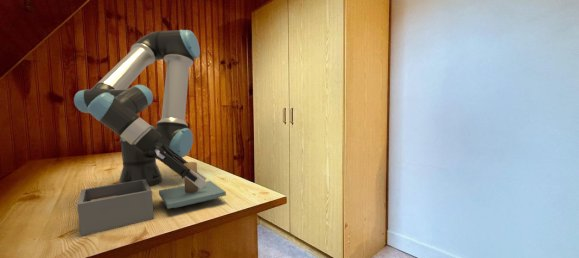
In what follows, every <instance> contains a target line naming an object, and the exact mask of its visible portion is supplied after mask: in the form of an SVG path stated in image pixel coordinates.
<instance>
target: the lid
mask: <svg viewBox="0 0 579 258" xmlns="http://www.w3.org/2000/svg"><path fill="white" fill-rule="evenodd" d="M183 165H185V166H186V167H187V168H188V169H190V170H192V171H193V172H195V173H196V174H197V171H198V163H197V162H194V161H190V162H189V161H188V163H184V164H183ZM183 181H184V185H179V186H176V187H169V188H164V189H159V190H158V195H159V197H160V198H161V201H162V202H163V203H164V205H165V206H166V208H167V210H168V209H172V208H173V209H177V208H181V207H185V206H190V205H193V204H198V203H202V202H203V203H204V202H207V201H211V200H215V199H216V200H217V199H219V198H220V197H225V196H227V192H226V191H225V190H224V189H223V188H221V187H220V186H218V185H217V184H216V183H214V182H213V181H211V180H207V181H206V180H205V181H206V182H207V184H206V185H205V186H204V187H203V188H202V189H200V188H199V187H197V186H196V185H195V184H193V183H192V182H191V181H189V180H188V179H187V178H186V177H184V178H183Z"/></svg>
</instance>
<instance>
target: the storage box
mask: <svg viewBox="0 0 579 258" xmlns="http://www.w3.org/2000/svg"><path fill="white" fill-rule="evenodd" d="M76 207H77V215H78V225H79V233H80V235H79V236H80V237H84V236H87V235H88V236H89V235H92V234H95V233H101V232H104V231H108V230H112V229H116V228H121V227H126V226H129V225H132V224H133V225H134V224H136V223H137V224H138V223H141V222H144V221H149V220H153V219H155V215H154V214H155V213H154V201H153V190H152V188H151V186H149V185H148V183H147V181H146V179H143V180H137V181H131V182H125V183H119V182H118V183H112V184H107V185H101V186H95V187H89V188H82V189H81V190H80V194H79V198H78V200H77V206H76Z"/></svg>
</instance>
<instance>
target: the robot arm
mask: <svg viewBox="0 0 579 258" xmlns="http://www.w3.org/2000/svg"><path fill="white" fill-rule="evenodd" d="M200 53H201V50H200V44H199V41H198V39H197V36H196V35H195V34H194V32H193V31H191V30H189V29H179V30H156V31H152V32H149V33H148V34H146V35H143V36H142V37H141V38H140V39H138V40H137V41H136V42H134V43H133V44H132V45H131V47H130V50H129V52H128V53H127V54H126V55H125V56H124V57H123V58H122V59H121V60H120V61H119V62H117V64H115V66H114V67H112V68H111V69H110V70H109V71H108V72H107V73H106V74H105V75H104V76H103V77H102V78H101V79H100V80H99V81H98V82H97V83H96V84H95V85H94V86H93V87H92V88H90V89H87V88H86V89H83V90H78V91H77V92H76V93H75V95H74V97H73V103H74V106H75V107H76V108H77V110H78V111H80V112H81V113H83V114H84V113H85V114H90V115H91V116H92V117H93V118H95V119H96V120H97V121H98V122H100V123H101V124H103V126H105V127H106V128H108V129H109V130H111V131H112V132H114V133H115V134H116V135H117V136H119V137H120V140H119V141H120V148H121V159H122V168H121V169H122V170H121V173H120V177H119V182H118V184H119V183H125V182H131V181H137V180H143V179H146V181H147V183H148V185H149V187H152V186H156V185H158V184H161V182H162V181H163V176H162V173H161V170H160V169H159V166H158V164H157V161H156V160H158V161H159V162H161V163H163V164H164V165H165V166H166V167H168V168H169V169H171V170H172V171H173V172H175V173H176V174H177V175H178V176H180V178H181V179H183V180H184V177H186V178H187V179H188V180H189V181H191V182H192V183H193V184H195V185H196V186H197V187H199V188H200V189H202V188H203V187H204V186H205V185H206V184H207V182H206V180H207V177H205V176H204V175H203V174H202V173H200V172H199V171H198V170H197V174H196V173H195V172H193V171H192V170H190V169H188V168H187V167H186V166H185V165H183V164H184V163H189V161H187V160H185V158H186V156H187V155H188V154H189V153H190V152H191V150H192V147H193V144H194V135H193V131H192V130H191V129H190V128H189V125H188V124H187V122H186V121H185V120H186V119H185V118H186V110H187V109H186V108H187V107H186V106H187V97H188V95H187V94H188V85H189V84H188V83H189V73H190V67H192V66H193V65H194V62H195V61H194V59H195V60H196V59H199V57H200V55H201V54H200ZM161 60H163V61H164V62H165V63H166V73H165V81H164V89H163V98H162V99H163V100H162V110H161V119H160V120H158V121H157V122H156V126H155V127H154V125H150V124H149V123H148V122H146V120H144V119H143V118H141V117H140V116H139V115H138V114H140V113H141V112H143V111H144V110H146V109H147V108H148V107H149V106H150V105H151V104H152V102H153V101H154V95H153V92H152V90H150V88H148V86H145V85H143V84H135V85H133V86H131V85H132V83H133V82H135V80H136V79H137V78H138V76H139V75H141V73H142V72H143V71H144V70H145V69H146V67H148V66H151V65H153V64H154V62H156V61H161ZM130 86H131V87H130Z"/></svg>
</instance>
